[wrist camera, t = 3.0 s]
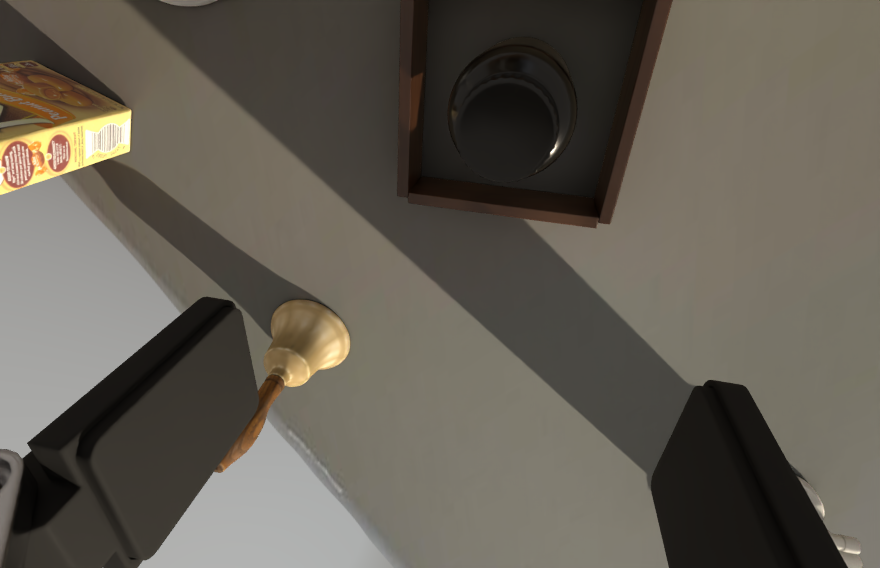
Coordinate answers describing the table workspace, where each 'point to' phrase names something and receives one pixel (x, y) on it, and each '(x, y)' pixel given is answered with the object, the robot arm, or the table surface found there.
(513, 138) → the supplement bottle
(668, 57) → the table surface
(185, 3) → the candlestick
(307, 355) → the hand bell
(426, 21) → the walnut caddy
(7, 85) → the candy box
